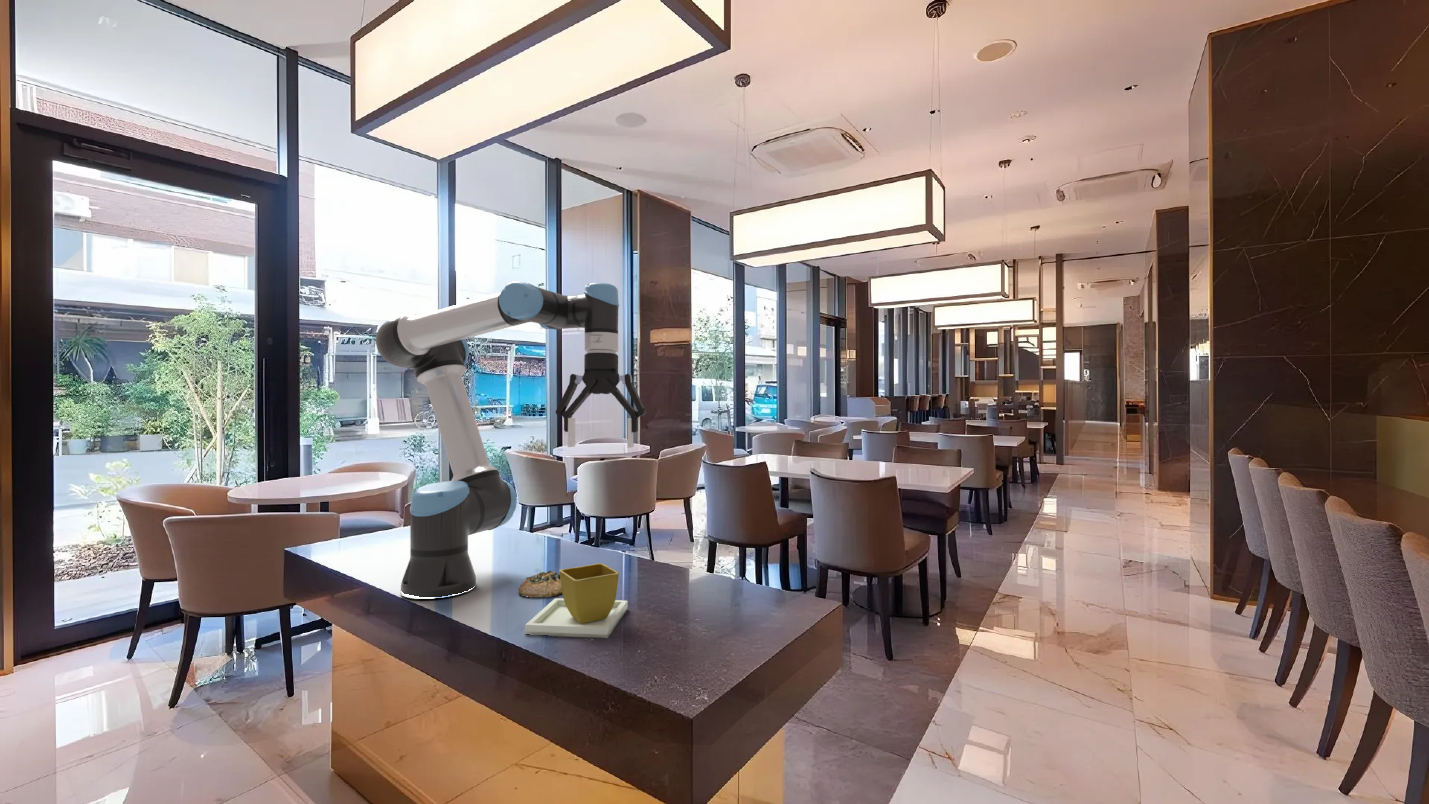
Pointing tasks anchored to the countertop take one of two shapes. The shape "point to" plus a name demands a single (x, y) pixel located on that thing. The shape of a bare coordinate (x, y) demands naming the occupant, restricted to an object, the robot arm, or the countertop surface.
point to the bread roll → (541, 585)
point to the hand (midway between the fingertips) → (600, 447)
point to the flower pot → (589, 591)
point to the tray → (573, 621)
